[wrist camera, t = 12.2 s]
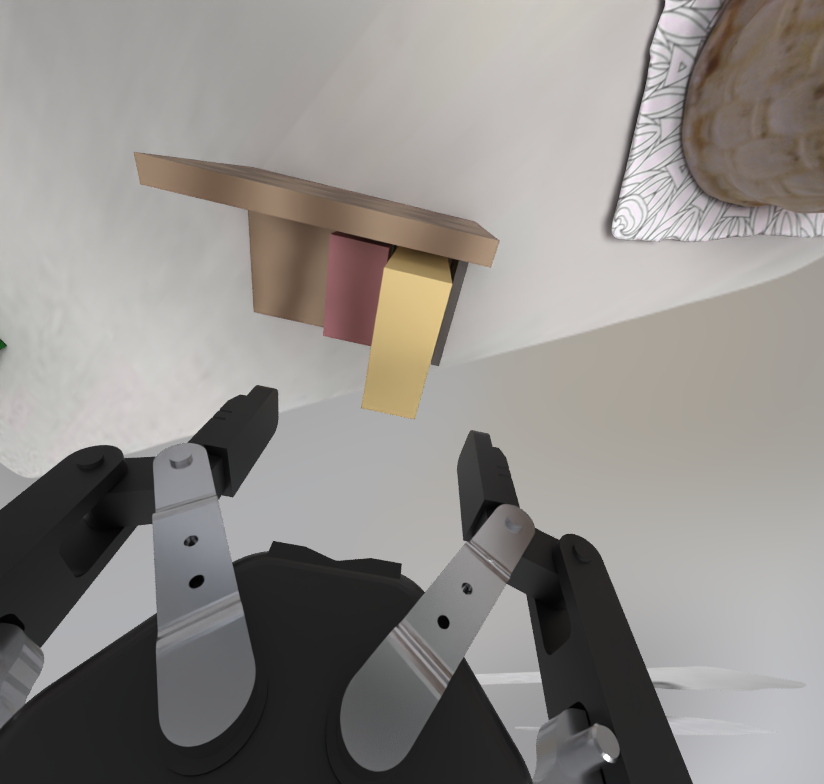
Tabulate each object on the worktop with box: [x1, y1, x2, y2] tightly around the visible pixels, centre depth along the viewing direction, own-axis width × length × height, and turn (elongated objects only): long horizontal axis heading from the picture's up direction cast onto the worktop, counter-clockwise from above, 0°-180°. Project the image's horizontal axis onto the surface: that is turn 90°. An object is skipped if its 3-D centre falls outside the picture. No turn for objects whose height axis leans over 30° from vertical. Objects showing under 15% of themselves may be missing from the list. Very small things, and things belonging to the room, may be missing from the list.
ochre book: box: [361, 246, 452, 419], centre depth 28 cm, size 4×10×16 cm, turn 168°
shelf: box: [134, 152, 499, 366], centre depth 29 cm, size 22×14×14 cm, turn 78°
